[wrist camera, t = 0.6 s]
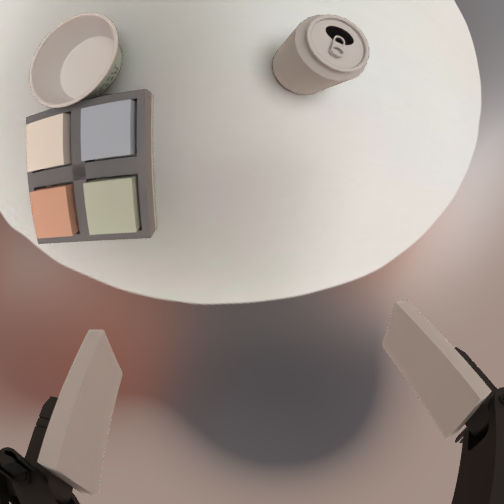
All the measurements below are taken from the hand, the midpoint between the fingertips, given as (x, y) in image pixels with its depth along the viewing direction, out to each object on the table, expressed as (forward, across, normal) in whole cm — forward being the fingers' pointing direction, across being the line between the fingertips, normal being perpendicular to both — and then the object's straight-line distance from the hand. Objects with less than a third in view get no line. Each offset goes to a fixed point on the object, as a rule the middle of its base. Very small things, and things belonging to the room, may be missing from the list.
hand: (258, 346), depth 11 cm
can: (+25, +10, +18) cm, 32 cm away
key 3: (+22, -13, +11) cm, 28 cm away
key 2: (+22, -22, +3) cm, 31 cm away
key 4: (+22, -21, +11) cm, 33 cm away
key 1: (+22, -13, +2) cm, 26 cm away
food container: (+25, -17, +21) cm, 37 cm away
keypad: (+25, -17, +7) cm, 31 cm away
